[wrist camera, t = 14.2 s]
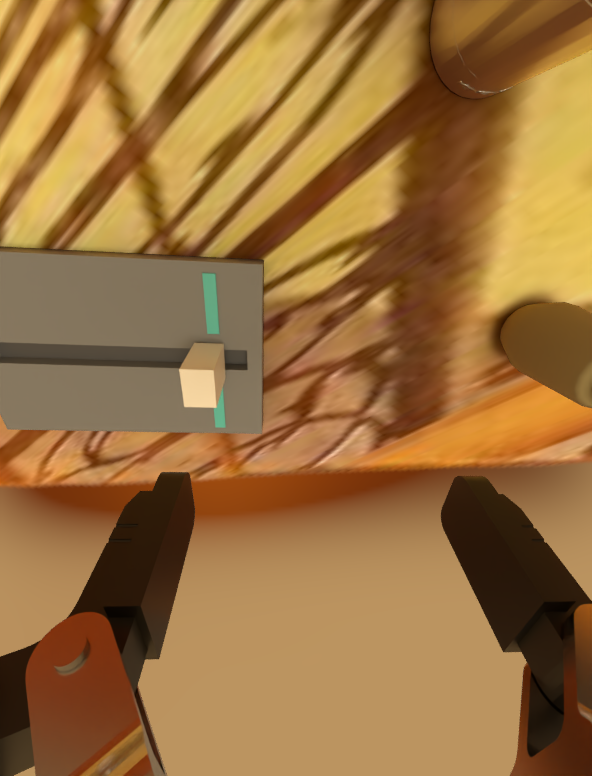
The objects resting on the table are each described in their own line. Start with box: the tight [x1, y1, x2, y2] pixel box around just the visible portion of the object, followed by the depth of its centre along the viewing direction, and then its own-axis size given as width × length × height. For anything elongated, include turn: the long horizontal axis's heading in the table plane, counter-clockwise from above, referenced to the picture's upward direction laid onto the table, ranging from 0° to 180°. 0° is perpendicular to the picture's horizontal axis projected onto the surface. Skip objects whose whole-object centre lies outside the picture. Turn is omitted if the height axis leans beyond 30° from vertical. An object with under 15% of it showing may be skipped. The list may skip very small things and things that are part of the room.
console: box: [0, 247, 264, 434], centre depth 36 cm, size 20×30×3 cm, turn 87°
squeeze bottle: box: [500, 302, 592, 408], centre depth 30 cm, size 8×8×18 cm
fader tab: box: [179, 343, 226, 408], centre depth 33 cm, size 4×3×7 cm
